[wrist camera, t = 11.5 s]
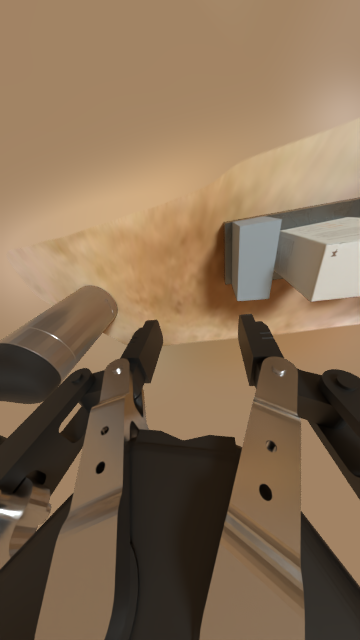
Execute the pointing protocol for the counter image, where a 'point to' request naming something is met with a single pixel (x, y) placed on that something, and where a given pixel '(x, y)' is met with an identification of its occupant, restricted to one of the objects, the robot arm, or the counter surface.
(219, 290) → the counter surface
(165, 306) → the counter surface
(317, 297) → the small box
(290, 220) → the vise bed
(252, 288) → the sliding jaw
